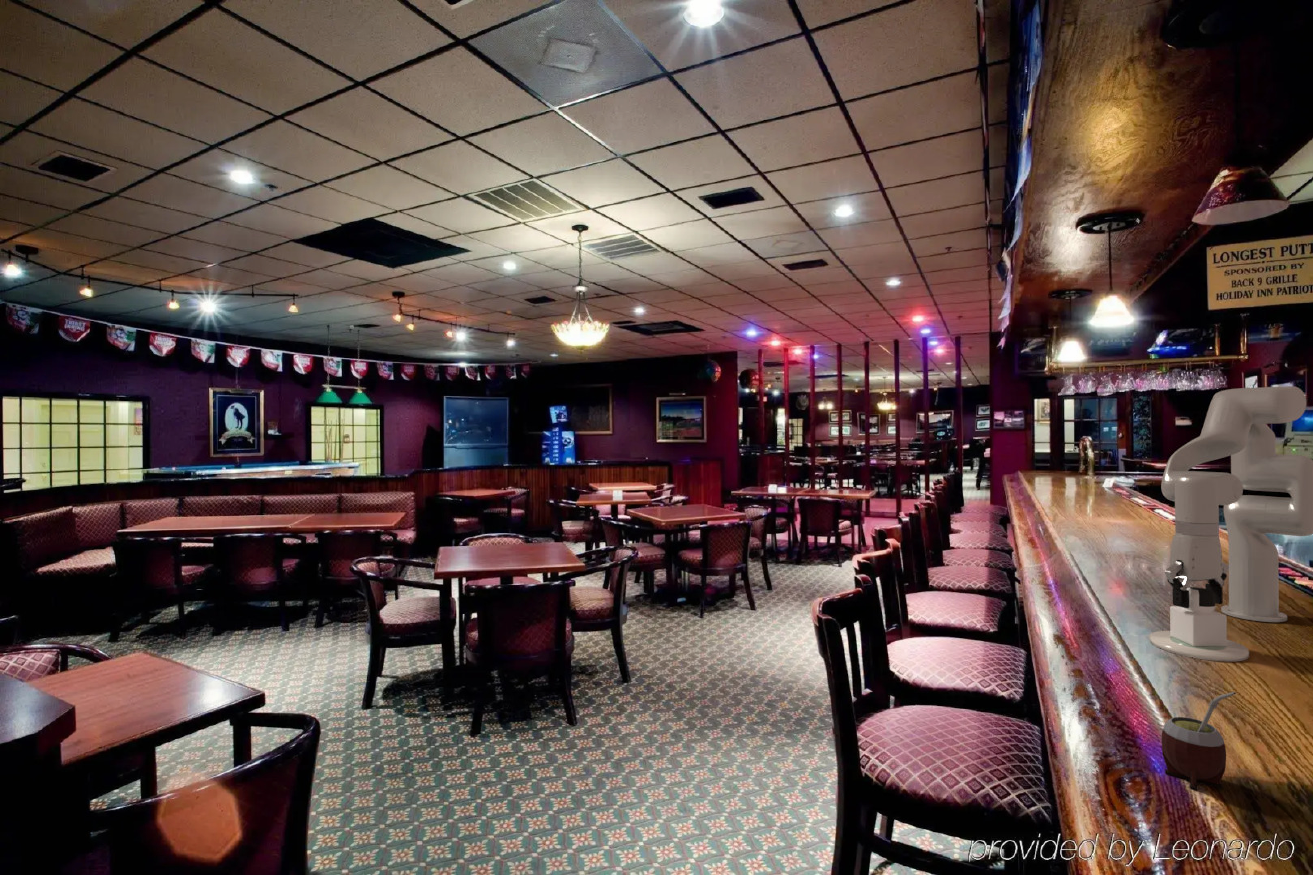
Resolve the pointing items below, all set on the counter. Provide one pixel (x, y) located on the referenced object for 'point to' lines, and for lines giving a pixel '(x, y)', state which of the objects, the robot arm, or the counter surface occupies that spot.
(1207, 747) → the mate gourd
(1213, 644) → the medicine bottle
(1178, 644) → the plate
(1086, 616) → the counter surface
